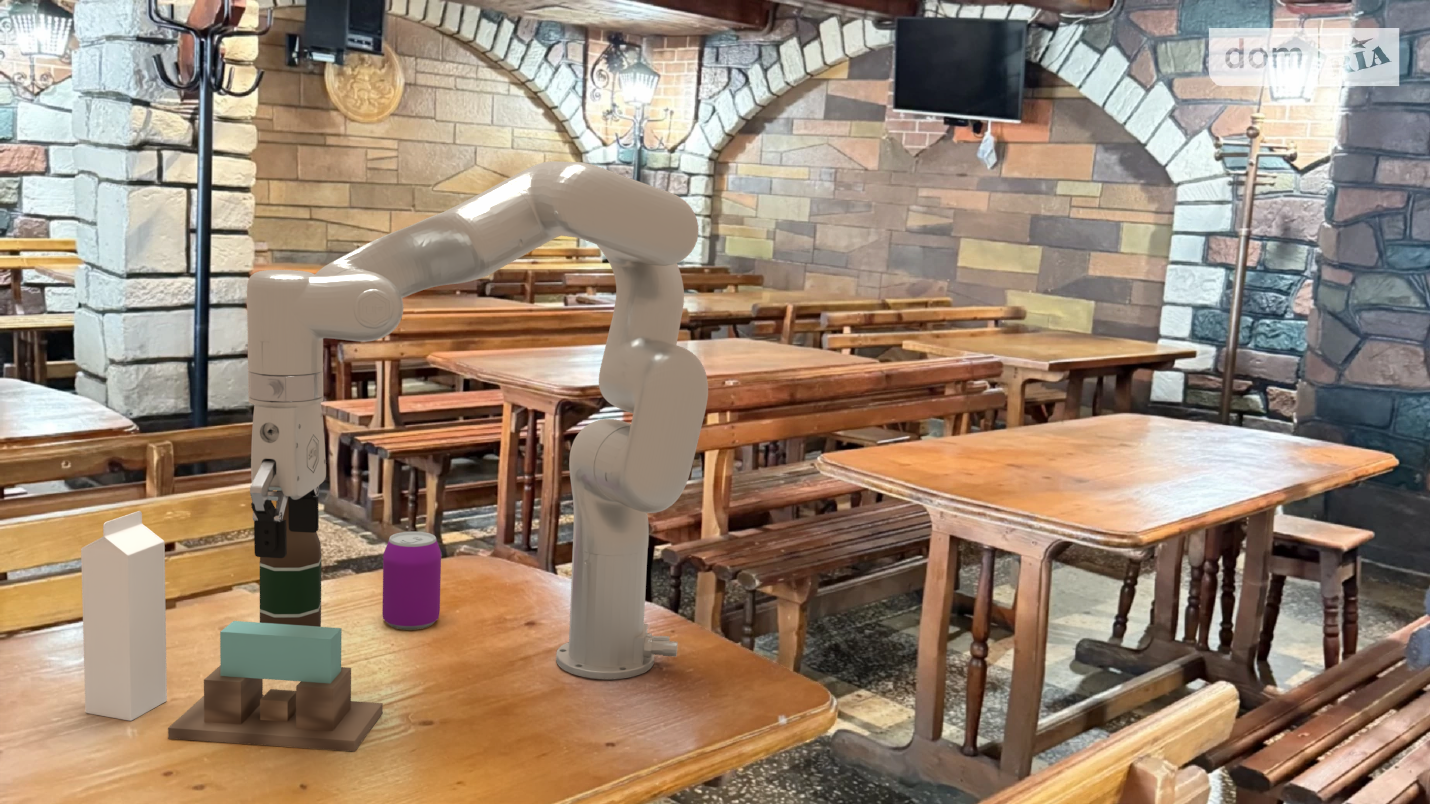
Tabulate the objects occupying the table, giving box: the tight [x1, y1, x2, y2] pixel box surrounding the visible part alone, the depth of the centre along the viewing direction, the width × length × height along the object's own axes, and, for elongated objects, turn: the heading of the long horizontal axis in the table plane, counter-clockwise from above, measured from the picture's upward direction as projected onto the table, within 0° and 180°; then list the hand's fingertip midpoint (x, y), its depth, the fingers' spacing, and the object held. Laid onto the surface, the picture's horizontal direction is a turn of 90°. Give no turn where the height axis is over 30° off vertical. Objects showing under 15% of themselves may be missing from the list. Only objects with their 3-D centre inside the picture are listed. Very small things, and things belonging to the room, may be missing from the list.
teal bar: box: [219, 620, 343, 683], centre depth 137 cm, size 12×4×5 cm, turn 88°
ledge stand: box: [167, 665, 384, 753], centre depth 138 cm, size 20×10×6 cm, turn 88°
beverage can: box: [381, 531, 442, 631], centre depth 172 cm, size 8×8×12 cm
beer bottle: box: [259, 496, 322, 627], centre depth 161 cm, size 8×8×24 cm
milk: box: [80, 510, 168, 722], centre depth 139 cm, size 6×6×22 cm
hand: (287, 543), depth 136 cm, fingers open, 9 cm apart
